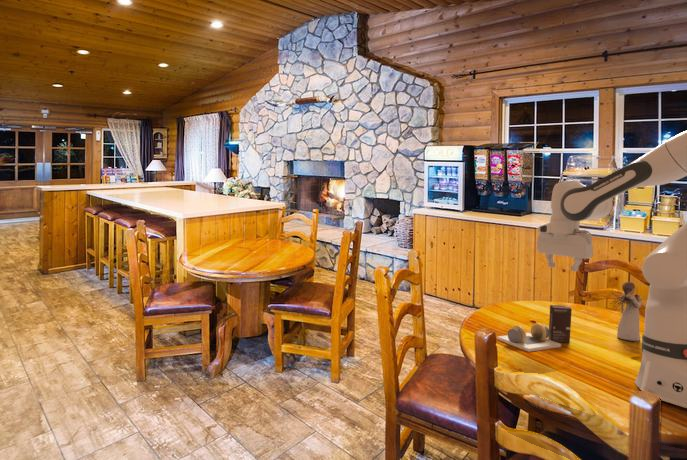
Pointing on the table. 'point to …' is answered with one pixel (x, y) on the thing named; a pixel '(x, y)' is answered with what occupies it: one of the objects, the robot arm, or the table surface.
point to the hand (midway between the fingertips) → (562, 269)
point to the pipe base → (529, 338)
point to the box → (560, 323)
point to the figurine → (629, 313)
